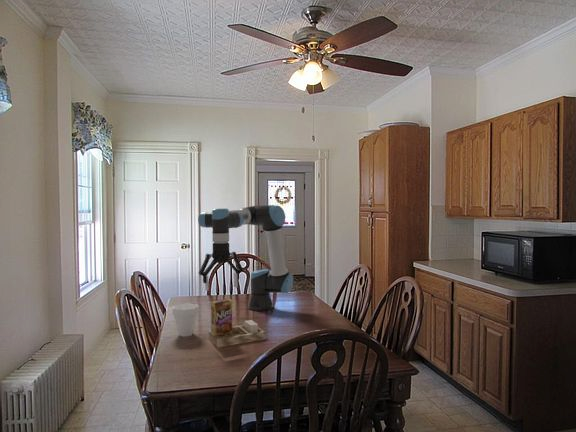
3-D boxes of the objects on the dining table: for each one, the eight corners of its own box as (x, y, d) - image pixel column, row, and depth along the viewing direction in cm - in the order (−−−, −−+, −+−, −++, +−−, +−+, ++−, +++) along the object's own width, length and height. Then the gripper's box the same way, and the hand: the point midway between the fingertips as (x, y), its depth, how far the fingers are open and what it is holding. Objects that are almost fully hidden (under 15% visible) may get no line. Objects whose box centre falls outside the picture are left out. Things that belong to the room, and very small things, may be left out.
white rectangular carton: (251, 332, 189) (251, 319, 188) (257, 336, 181) (257, 324, 181) (244, 333, 187) (244, 320, 187) (250, 338, 180) (250, 325, 180)
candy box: (214, 336, 173) (214, 302, 173) (210, 334, 177) (210, 300, 176) (232, 333, 178) (232, 300, 178) (228, 330, 182) (228, 298, 181)
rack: (253, 331, 193) (252, 323, 193) (266, 341, 179) (266, 332, 179) (207, 339, 183) (207, 330, 182) (218, 350, 168) (218, 340, 168)
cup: (185, 340, 181) (184, 311, 181) (167, 335, 188) (167, 307, 187) (204, 332, 192) (203, 305, 191) (186, 328, 198) (186, 302, 198)
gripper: (243, 240, 186) (244, 284, 186) (191, 243, 174) (192, 290, 175) (249, 241, 179) (250, 287, 180) (195, 244, 167) (196, 293, 168)
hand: (221, 288), depth 177 cm, fingers open, 13 cm apart
